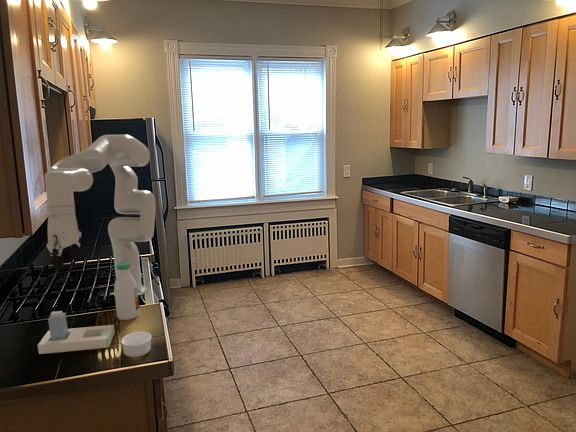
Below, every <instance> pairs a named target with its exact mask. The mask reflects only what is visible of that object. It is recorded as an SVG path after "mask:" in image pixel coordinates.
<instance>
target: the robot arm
mask: <svg viewBox="0 0 576 432" xmlns="http://www.w3.org/2000/svg"><path fill="white" fill-rule="evenodd" d="M150 156H151V154H150V151H149V148H148V147H147V146H146V145H145V144H144V143H142V142H141V141H140V140H138V139H137V138H135V137H134V136H131V135H129V134H103V135H101V136H99V137H98V138H96V140H95V141H94V142H93V143H91V144H90V145H89V146H88V147H87V148H86V149H85V150H82V151H80V152H76V153H75V154H72V155H68V156H66V157H64V158H62V159H60V160H58V161H57V162H56V163H54V164H53V165H52V166H51V167H50V168H49V169H48V170H47V172H46V173H45V174H44V184H45V194H46V202H47V211H48V212H47V213H48V217H47V243H46V248H47V250H48V253H49V255H50V256H51V260H52V268H53V269H64V268H65V265H64V257H63V255H62V254H63V249H66V248H68V247H69V254H70V260H72V261H73V260H74V261H76V260H77V261H78V260H81V259H82V257H81V256H82V255H81V248H80V247H81V241H82V232H81V231H80V230H79V227H78V226H79V225H78V221H77V216H76V206H75V205H76V204H75V198H74V192H85V191H87V190H89V189H91V187H92V185H93V183H94V177H93V173H97V172H99V171H102V170H103V169H104V168H105V167H106V166H107V165H109V167H110V169H111V170H112V172H113V174H114V175H113V176H114V178H115V180H114V182H115V187H114V199H113V200H114V203H113V206H114V210H115V212H116V213H118V214H121V215H139V217H137V216H136V217H135V216H134V217H133V216H130V217H129V216H128V217H127V216H122V217H119V216H118V217H115V218H113V219H111V220H110V221H109V222H108V225H107V232H108V236H109V239H110V243H111V247H112V253H113V261H114V270H115V271H114V272H115V279H116V278H117V274H118V271H117V268H116V265H117V264H118V263H121V262H129V263H130V272H131V275H132V276H133V278H134V280H135V282H136V286H137V293H138V294H139V295H140V296H142V295H144V294H145V293H146V292H147V288H146V286H145V285H143V284H142V276H141V265H140V251H139V249H138V247H137V245H136V243H135V242H137V243H138V242H139V243H140V242H149V241H151V240H152V239H153V237H154V232H155V219H156V198H155V195H154V194H153V192H151V191H150V190H145V189H141V190H140V189H138V185H139V184H138V182H139V181H138V179H139V178H138V176H137V174H136V173H135V171H134V170H133V169H132V168H131V167H133V168H134V167H139V168H140V167H145V166H147V165H148V164H149V162H150V160H151V157H150ZM113 296H114V297H115V291H113Z"/></svg>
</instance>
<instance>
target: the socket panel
mask: <svg viewBox="0 0 576 432" xmlns="http://www.w3.org/2000/svg"><path fill="white" fill-rule="evenodd" d="M68 335H69V336H68V337H67V339H64V340H53V341H51V336H50V329H49V330H47V332H46V333H45V334H44V335H43V337H42V339H41V340H40V341H39V343H38V344H37V351H38V354H39V355H42V354H43V355H45V354H55V353H65V352H75V351H85V350H97V349H104V348H106V349H107V348H109V347H110V345H111V343H112V341H113V339H114V336H115V324H107V325H95V326H94V325H93V326H85V327H75V328H73V327H72V328H68Z"/></svg>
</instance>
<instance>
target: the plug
mask: <svg viewBox="0 0 576 432" xmlns="http://www.w3.org/2000/svg"><path fill="white" fill-rule="evenodd" d="M47 321H48V327H49V330H50V336H51V341H53V340H64V339H67V337H68V336H69V335H68V329H69V328H68V322H67V314H66V312H63V310H58V311H51V313H50V316H49V317H48V319H47Z"/></svg>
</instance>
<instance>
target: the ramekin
mask: <svg viewBox="0 0 576 432" xmlns="http://www.w3.org/2000/svg"><path fill="white" fill-rule="evenodd" d="M121 345H122V350H123V353H124V355H125V356H127V357H130V358H137V357H141V356H144V355H146V354H147V353H149V352H150V351H151V348H152V335H151V333H150V332H147V331H135V332H131V333H129V334H126V335H125V336H122V338H121Z"/></svg>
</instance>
